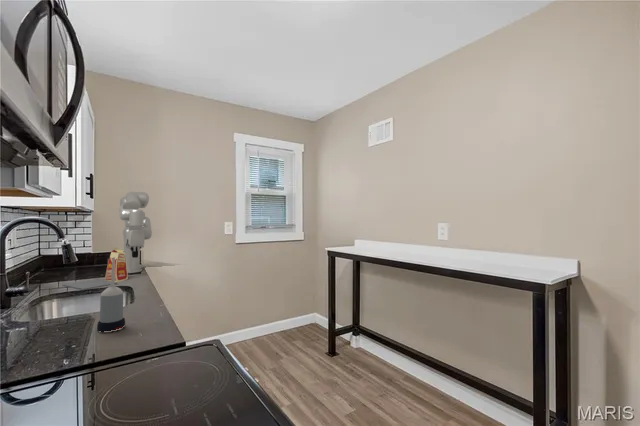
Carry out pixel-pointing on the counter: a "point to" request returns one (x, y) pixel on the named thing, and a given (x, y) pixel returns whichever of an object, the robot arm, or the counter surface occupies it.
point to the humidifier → (111, 306)
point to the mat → (89, 284)
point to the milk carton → (117, 266)
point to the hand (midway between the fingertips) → (135, 257)
